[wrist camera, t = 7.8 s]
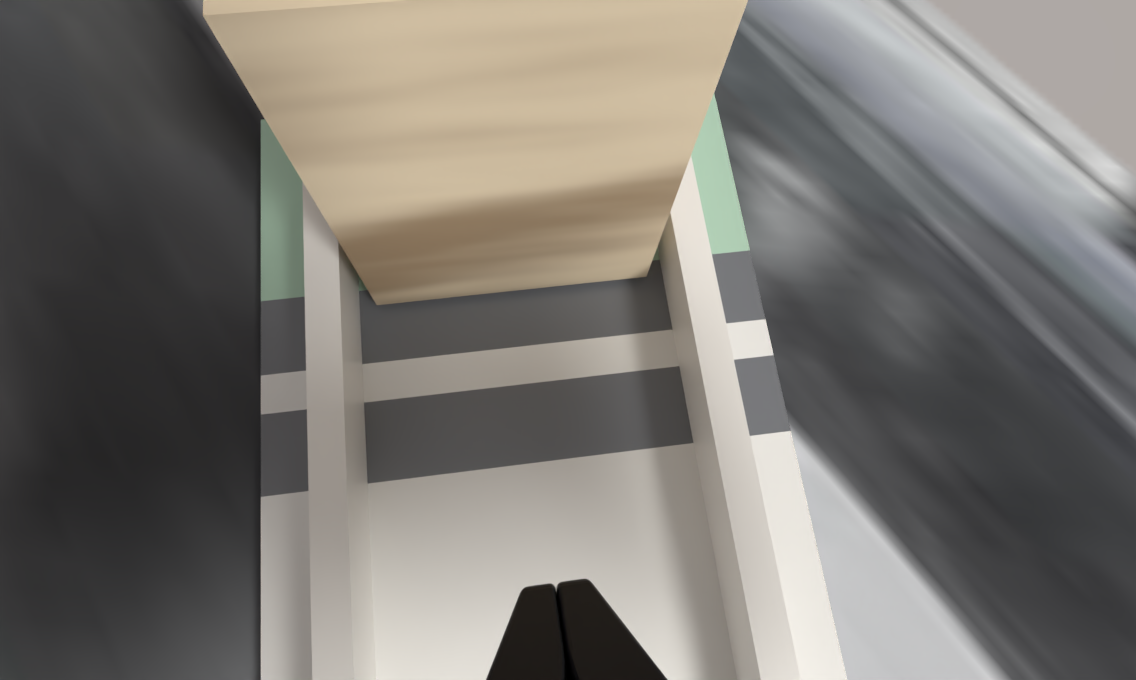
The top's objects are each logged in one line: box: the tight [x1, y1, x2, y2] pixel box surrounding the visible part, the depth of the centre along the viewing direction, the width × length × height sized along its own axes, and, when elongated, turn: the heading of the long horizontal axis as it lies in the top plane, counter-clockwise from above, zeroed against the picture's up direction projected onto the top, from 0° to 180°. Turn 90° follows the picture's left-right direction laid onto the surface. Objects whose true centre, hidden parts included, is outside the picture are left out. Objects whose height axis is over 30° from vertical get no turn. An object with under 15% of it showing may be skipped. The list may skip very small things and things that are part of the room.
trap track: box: [261, 94, 847, 680], centre depth 17 cm, size 18×13×2 cm
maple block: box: [203, 0, 748, 305], centre depth 15 cm, size 5×7×10 cm
